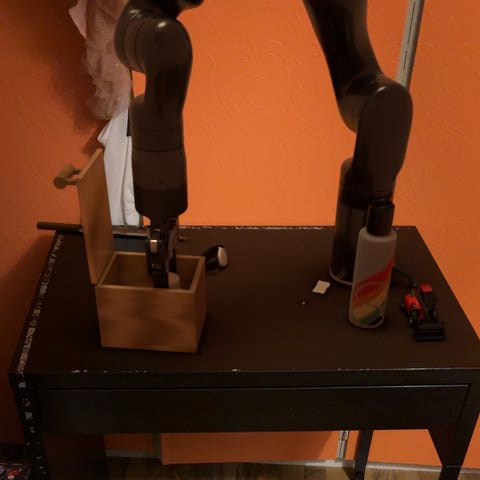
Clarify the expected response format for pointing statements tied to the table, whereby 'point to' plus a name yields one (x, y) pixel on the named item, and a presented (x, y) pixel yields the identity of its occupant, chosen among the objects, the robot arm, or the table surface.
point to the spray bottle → (373, 266)
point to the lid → (92, 210)
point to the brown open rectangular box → (150, 305)
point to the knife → (79, 228)
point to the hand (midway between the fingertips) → (165, 285)
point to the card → (321, 287)
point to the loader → (423, 313)
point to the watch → (219, 261)
